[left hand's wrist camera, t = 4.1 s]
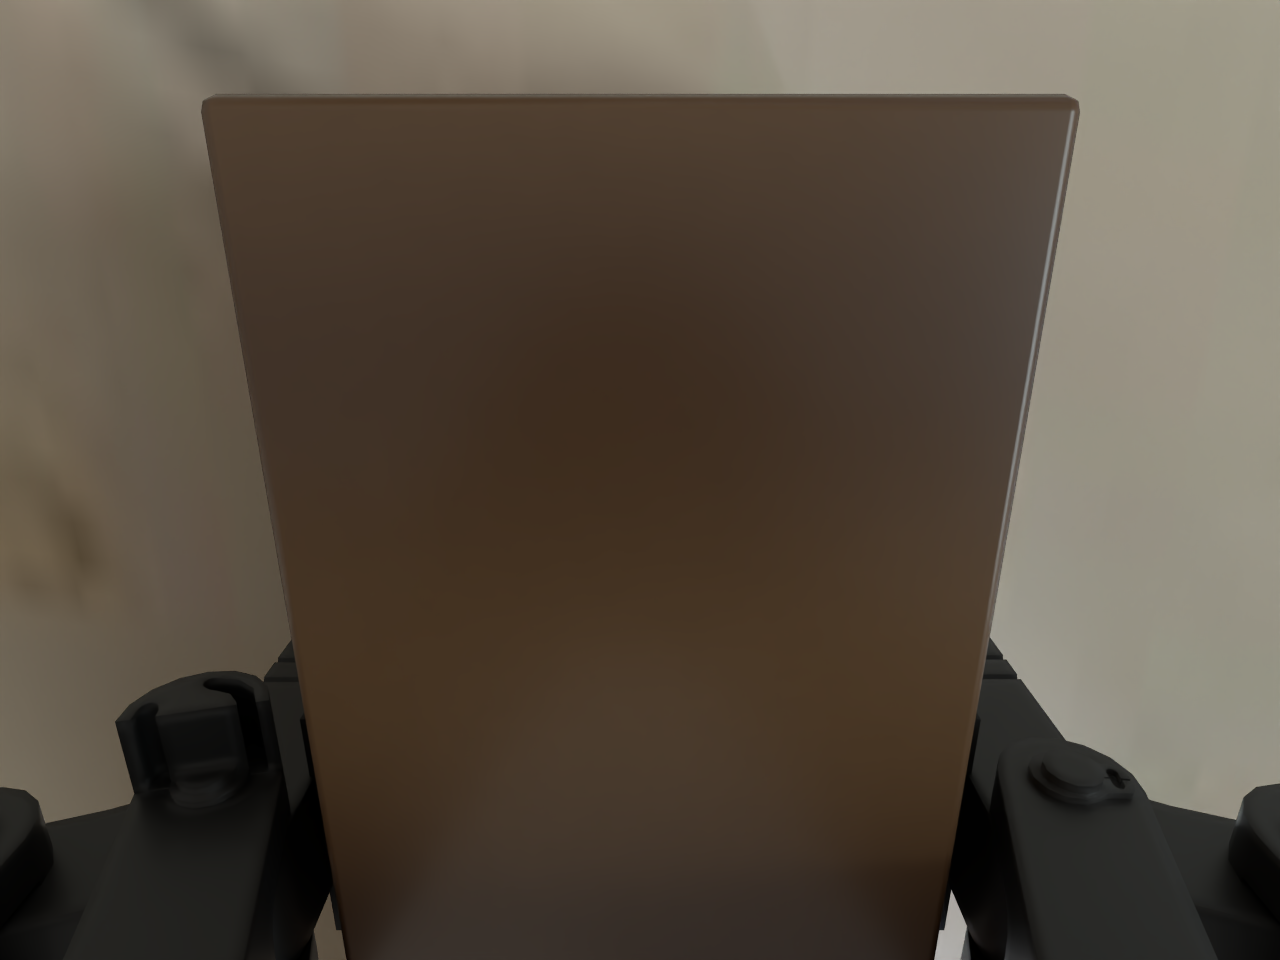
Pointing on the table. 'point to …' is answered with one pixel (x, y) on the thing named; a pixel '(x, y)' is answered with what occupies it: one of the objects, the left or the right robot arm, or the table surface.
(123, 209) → the table surface
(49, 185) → the table surface
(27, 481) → the table surface
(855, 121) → the post
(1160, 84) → the table surface
